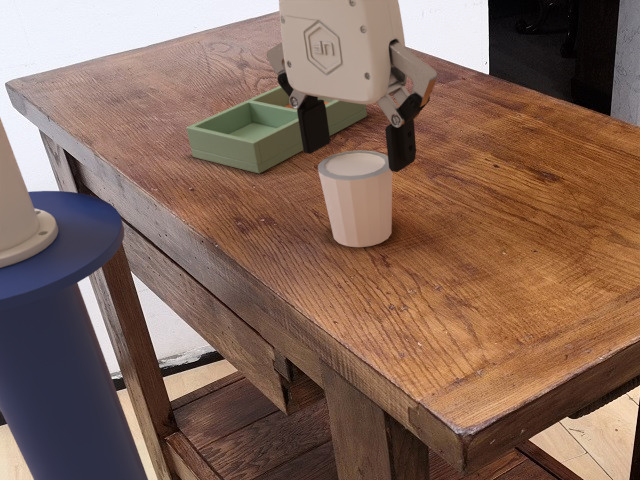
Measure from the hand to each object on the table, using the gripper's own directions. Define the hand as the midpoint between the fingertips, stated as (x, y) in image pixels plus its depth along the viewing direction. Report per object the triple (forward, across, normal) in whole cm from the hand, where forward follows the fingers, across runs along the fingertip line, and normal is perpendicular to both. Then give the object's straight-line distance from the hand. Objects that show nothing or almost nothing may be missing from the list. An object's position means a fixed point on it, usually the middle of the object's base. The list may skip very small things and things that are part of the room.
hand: (358, 157), depth 75 cm
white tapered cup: (+8, 0, 0) cm, 8 cm away
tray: (+7, -24, +16) cm, 30 cm away
